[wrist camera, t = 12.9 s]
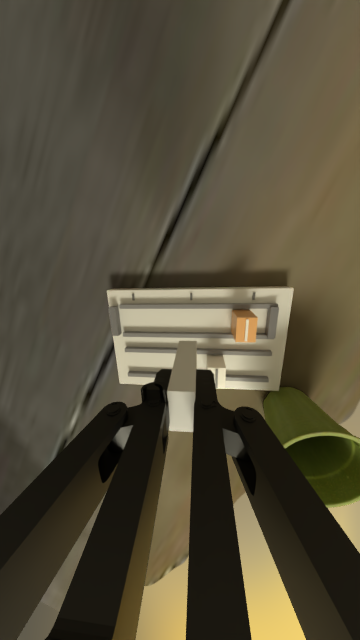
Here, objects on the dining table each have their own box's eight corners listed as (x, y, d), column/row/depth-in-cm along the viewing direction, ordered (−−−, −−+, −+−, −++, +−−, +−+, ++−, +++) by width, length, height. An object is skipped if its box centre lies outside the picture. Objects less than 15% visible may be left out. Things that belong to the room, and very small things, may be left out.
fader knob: (232, 309, 26) (237, 317, 22) (249, 309, 26) (258, 318, 22) (230, 330, 27) (235, 342, 23) (247, 331, 27) (255, 343, 23)
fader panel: (112, 288, 30) (90, 295, 24) (287, 286, 27) (311, 292, 21) (124, 376, 34) (108, 400, 28) (274, 383, 31) (290, 411, 25)
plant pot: (288, 359, 30) (336, 414, 19) (337, 404, 31) (407, 479, 20) (233, 402, 33) (248, 468, 23) (279, 441, 35) (314, 521, 24)
